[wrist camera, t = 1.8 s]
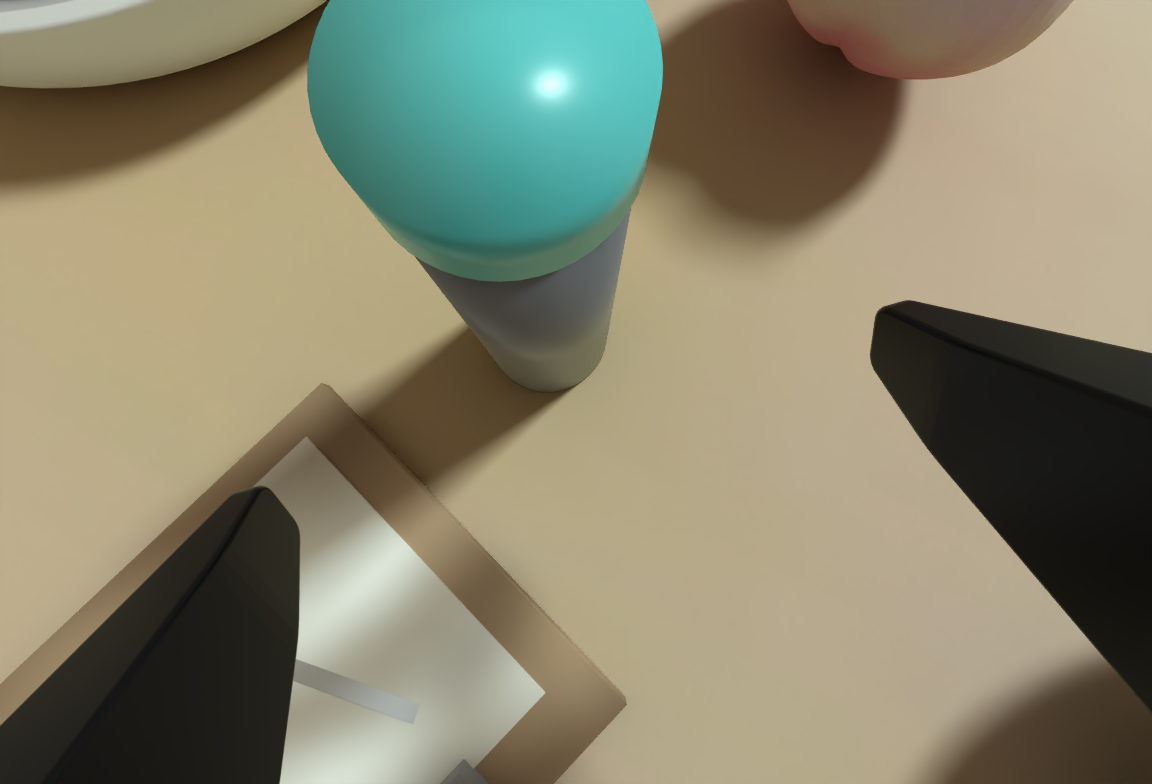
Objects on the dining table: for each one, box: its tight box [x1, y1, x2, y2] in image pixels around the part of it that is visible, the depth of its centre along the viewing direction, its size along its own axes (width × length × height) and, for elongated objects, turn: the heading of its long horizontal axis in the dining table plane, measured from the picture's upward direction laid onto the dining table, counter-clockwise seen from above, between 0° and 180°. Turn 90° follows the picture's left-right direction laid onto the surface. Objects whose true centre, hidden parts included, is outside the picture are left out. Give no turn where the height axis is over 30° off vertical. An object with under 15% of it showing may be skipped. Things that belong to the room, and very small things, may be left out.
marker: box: [308, 0, 663, 392], centre depth 13 cm, size 4×4×13 cm
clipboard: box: [0, 383, 627, 784], centre depth 17 cm, size 14×17×2 cm
